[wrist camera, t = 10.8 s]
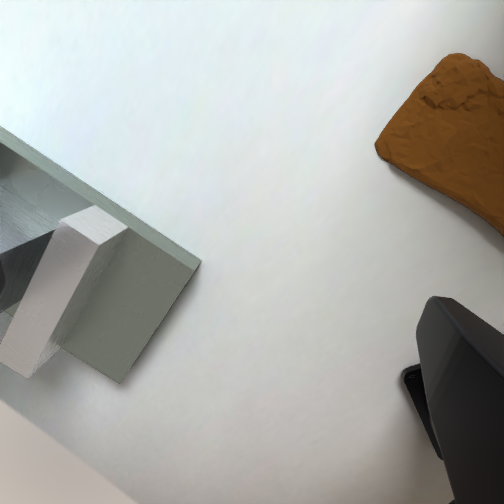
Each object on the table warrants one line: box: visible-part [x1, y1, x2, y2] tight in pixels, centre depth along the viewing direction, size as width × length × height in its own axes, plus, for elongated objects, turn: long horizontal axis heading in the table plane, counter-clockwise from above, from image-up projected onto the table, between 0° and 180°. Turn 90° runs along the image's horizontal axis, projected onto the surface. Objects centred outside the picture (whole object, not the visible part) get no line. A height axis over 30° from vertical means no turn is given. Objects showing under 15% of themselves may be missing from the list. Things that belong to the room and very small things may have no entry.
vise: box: [0, 126, 201, 383], centre depth 21 cm, size 18×9×4 cm, turn 56°
